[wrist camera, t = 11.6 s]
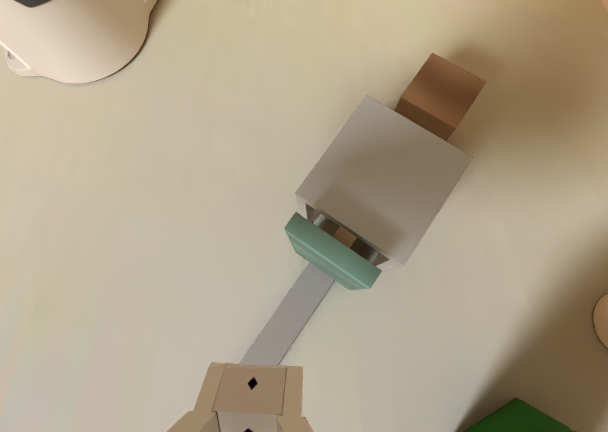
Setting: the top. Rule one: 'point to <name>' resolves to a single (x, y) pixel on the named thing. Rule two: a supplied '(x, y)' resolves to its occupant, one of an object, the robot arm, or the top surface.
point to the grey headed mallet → (366, 205)
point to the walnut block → (439, 96)
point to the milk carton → (518, 420)
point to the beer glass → (601, 319)
